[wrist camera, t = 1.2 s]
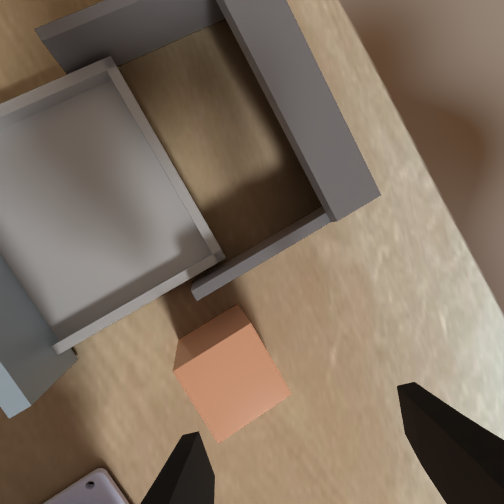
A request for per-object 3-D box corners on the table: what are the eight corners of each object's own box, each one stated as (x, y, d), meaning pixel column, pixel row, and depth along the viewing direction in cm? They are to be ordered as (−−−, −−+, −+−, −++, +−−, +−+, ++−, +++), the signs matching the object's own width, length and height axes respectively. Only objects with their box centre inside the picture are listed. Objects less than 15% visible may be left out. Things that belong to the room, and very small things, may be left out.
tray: (62, 368, 18) (9, 419, 13) (-90, 143, 16) (-224, 96, 11) (231, 269, 20) (243, 279, 15) (108, 56, 18) (73, -20, 13)
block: (212, 394, 20) (218, 443, 15) (178, 339, 20) (172, 371, 15) (269, 358, 21) (291, 394, 16) (237, 303, 20) (251, 323, 15)
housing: (196, 289, 20) (196, 304, 15) (69, 76, 18) (24, 15, 13) (340, 205, 21) (381, 195, 17) (237, 2, 20) (250, -74, 15)
